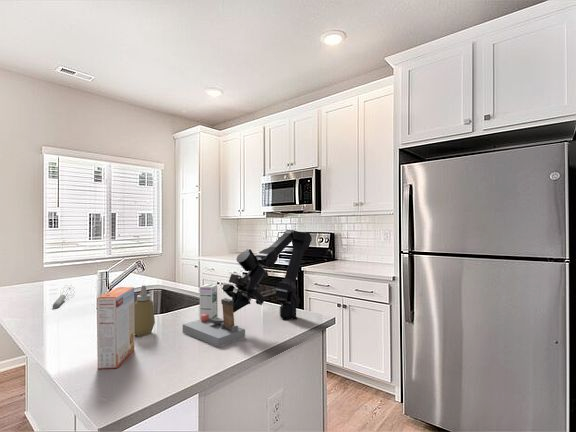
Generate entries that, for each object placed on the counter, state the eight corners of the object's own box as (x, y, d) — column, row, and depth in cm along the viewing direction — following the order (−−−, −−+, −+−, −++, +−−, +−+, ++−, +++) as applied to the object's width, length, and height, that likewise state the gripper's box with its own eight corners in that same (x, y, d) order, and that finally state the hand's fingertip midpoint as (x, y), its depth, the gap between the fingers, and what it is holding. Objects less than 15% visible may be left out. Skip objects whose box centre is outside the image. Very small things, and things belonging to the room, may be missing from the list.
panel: (208, 324, 136) (208, 312, 136) (245, 337, 122) (245, 324, 122) (182, 332, 127) (182, 319, 127) (218, 347, 112) (218, 333, 112)
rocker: (218, 322, 129) (219, 319, 130) (224, 324, 127) (224, 321, 127) (207, 321, 126) (208, 318, 126) (213, 323, 123) (214, 320, 124)
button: (205, 319, 133) (205, 313, 133) (210, 320, 131) (210, 314, 131) (199, 321, 131) (199, 314, 131) (203, 322, 129) (203, 316, 129)
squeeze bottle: (131, 338, 120) (132, 288, 120) (130, 331, 127) (131, 284, 127) (156, 335, 123) (156, 286, 123) (153, 328, 131) (154, 282, 131)
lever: (227, 327, 123) (225, 298, 123) (235, 329, 120) (233, 300, 120) (223, 329, 122) (221, 299, 121) (231, 331, 119) (228, 301, 118)
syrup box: (212, 321, 140) (212, 286, 140) (199, 320, 141) (199, 286, 141) (217, 317, 146) (217, 284, 146) (205, 316, 147) (205, 283, 147)
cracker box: (116, 350, 109) (116, 286, 110) (135, 349, 110) (135, 286, 110) (95, 369, 96) (95, 296, 96) (117, 369, 96) (117, 296, 96)
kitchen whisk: (46, 310, 155) (46, 297, 155) (63, 295, 186) (63, 283, 186) (62, 309, 157) (62, 296, 157) (76, 294, 189) (76, 283, 189)
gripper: (225, 263, 132) (202, 296, 123) (258, 268, 119) (234, 305, 111) (241, 280, 138) (219, 312, 129) (273, 286, 125) (252, 323, 117)
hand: (230, 313), depth 121 cm, fingers closed, pressing on lever
